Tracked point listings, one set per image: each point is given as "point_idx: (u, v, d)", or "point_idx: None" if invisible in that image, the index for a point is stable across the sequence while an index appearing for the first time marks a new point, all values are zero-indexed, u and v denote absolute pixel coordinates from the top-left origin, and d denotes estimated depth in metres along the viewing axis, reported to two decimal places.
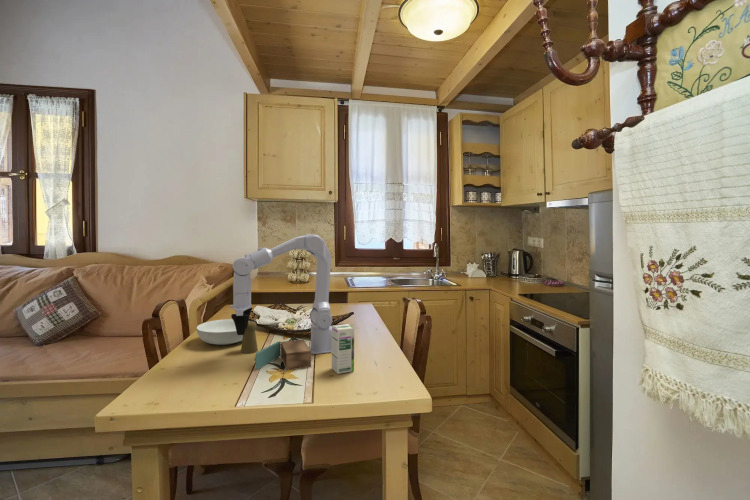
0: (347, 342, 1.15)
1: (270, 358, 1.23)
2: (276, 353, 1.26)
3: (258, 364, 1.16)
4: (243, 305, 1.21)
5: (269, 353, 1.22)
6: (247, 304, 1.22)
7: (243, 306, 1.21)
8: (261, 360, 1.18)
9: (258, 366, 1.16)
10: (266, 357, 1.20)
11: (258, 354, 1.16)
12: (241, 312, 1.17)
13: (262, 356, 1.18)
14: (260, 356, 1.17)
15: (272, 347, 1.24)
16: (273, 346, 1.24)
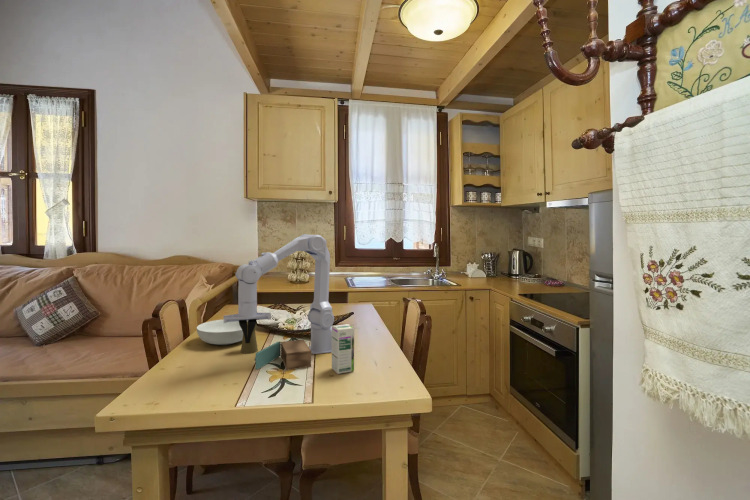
0: (347, 342, 1.15)
1: (270, 358, 1.23)
2: (276, 353, 1.26)
3: (258, 364, 1.16)
4: (238, 313, 1.16)
5: (269, 353, 1.22)
6: (241, 314, 1.15)
7: (238, 315, 1.16)
8: (261, 360, 1.18)
9: (258, 366, 1.16)
10: (266, 357, 1.20)
11: (258, 354, 1.16)
12: None
13: (262, 356, 1.18)
14: (260, 356, 1.17)
15: (272, 347, 1.24)
16: (273, 346, 1.24)
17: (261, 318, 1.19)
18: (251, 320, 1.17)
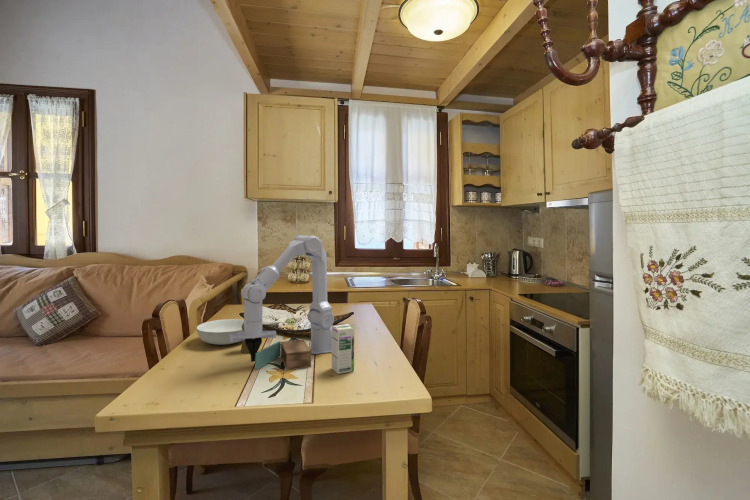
0: (347, 342, 1.15)
1: (270, 358, 1.23)
2: (276, 353, 1.26)
3: (258, 364, 1.16)
4: (244, 332, 1.17)
5: (269, 353, 1.22)
6: (246, 333, 1.16)
7: (244, 334, 1.17)
8: (261, 360, 1.18)
9: (258, 366, 1.16)
10: (266, 357, 1.20)
11: (258, 354, 1.16)
12: None
13: (262, 356, 1.18)
14: (260, 356, 1.17)
15: (272, 347, 1.24)
16: (273, 346, 1.24)
17: (266, 336, 1.20)
18: (257, 339, 1.18)
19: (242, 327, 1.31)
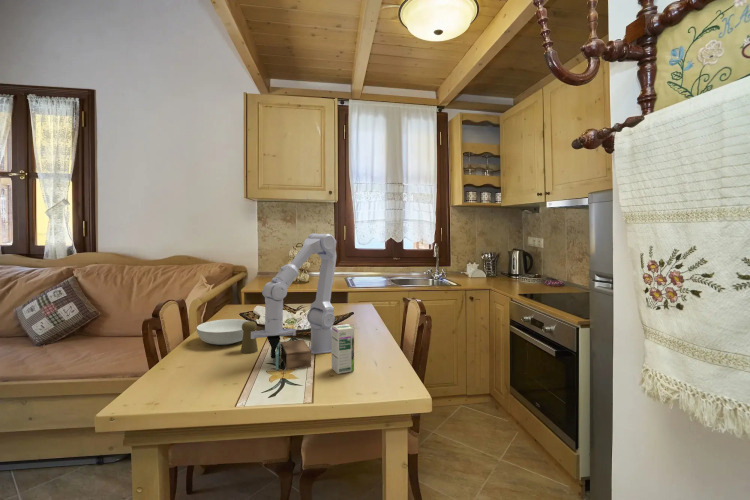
0: (347, 342, 1.15)
1: None
2: (279, 353, 1.26)
3: (278, 365, 1.16)
4: (265, 330, 1.19)
5: None
6: (268, 330, 1.18)
7: (265, 331, 1.19)
8: (278, 361, 1.17)
9: (278, 366, 1.16)
10: None
11: (278, 355, 1.16)
12: (251, 335, 1.17)
13: (278, 357, 1.18)
14: (278, 357, 1.17)
15: (279, 347, 1.23)
16: (279, 346, 1.24)
17: (286, 334, 1.22)
18: (277, 336, 1.21)
19: (242, 327, 1.31)
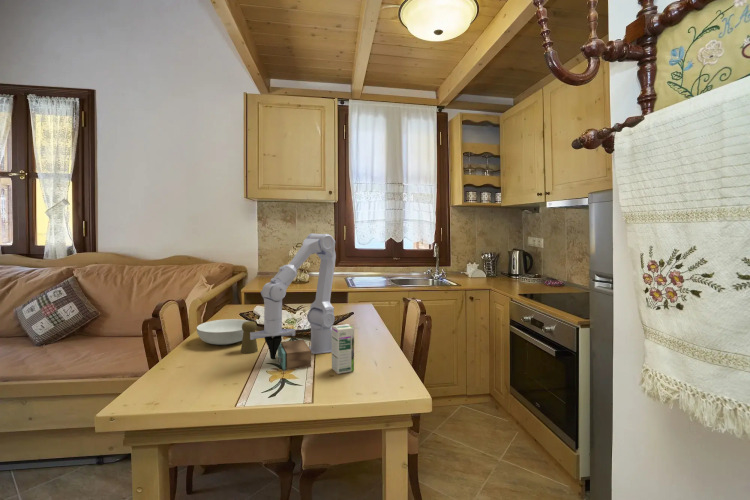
0: (347, 342, 1.15)
1: None
2: None
3: None
4: (264, 330, 1.19)
5: None
6: (267, 331, 1.18)
7: (264, 332, 1.19)
8: None
9: None
10: None
11: None
12: (250, 336, 1.18)
13: None
14: None
15: None
16: (281, 346, 1.24)
17: (286, 334, 1.22)
18: (276, 336, 1.21)
19: (242, 327, 1.31)
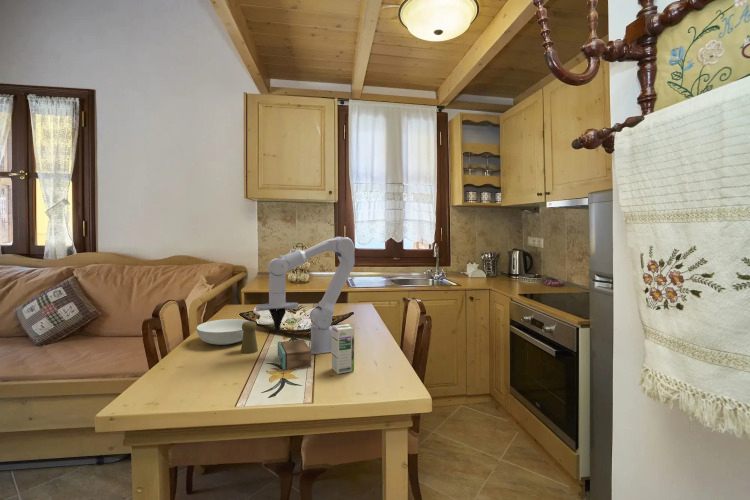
0: (347, 342, 1.15)
1: None
2: None
3: None
4: (269, 303, 1.27)
5: None
6: (271, 303, 1.26)
7: (269, 304, 1.27)
8: None
9: None
10: None
11: None
12: (256, 308, 1.25)
13: None
14: None
15: None
16: (281, 346, 1.24)
17: (289, 307, 1.30)
18: (280, 309, 1.29)
19: (242, 327, 1.31)
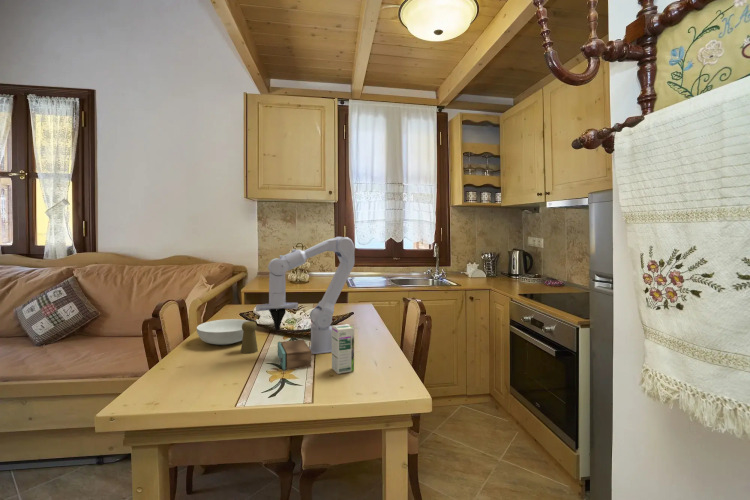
0: (347, 342, 1.15)
1: None
2: None
3: None
4: (269, 303, 1.27)
5: None
6: (271, 303, 1.26)
7: (269, 304, 1.27)
8: None
9: None
10: None
11: None
12: (256, 308, 1.25)
13: None
14: None
15: None
16: (281, 346, 1.24)
17: (289, 307, 1.30)
18: (280, 309, 1.29)
19: (242, 327, 1.31)
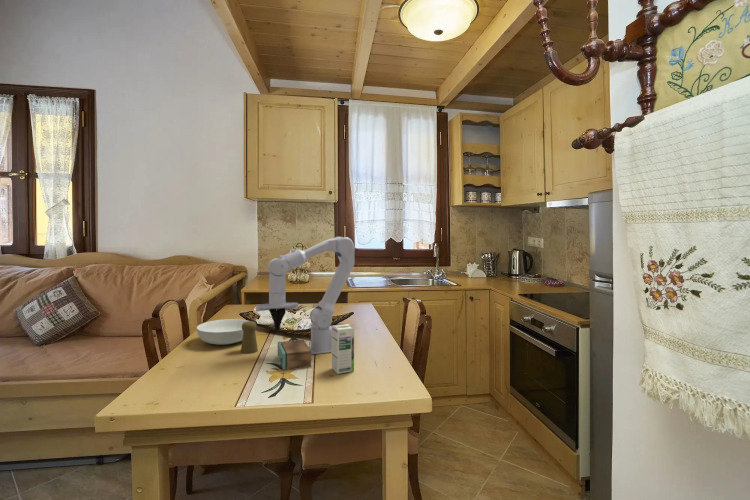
0: (347, 342, 1.15)
1: None
2: None
3: None
4: (269, 303, 1.27)
5: None
6: (271, 303, 1.26)
7: (269, 304, 1.27)
8: None
9: None
10: None
11: None
12: (256, 308, 1.25)
13: None
14: None
15: None
16: (281, 346, 1.24)
17: (289, 307, 1.30)
18: (280, 309, 1.29)
19: (242, 327, 1.31)
